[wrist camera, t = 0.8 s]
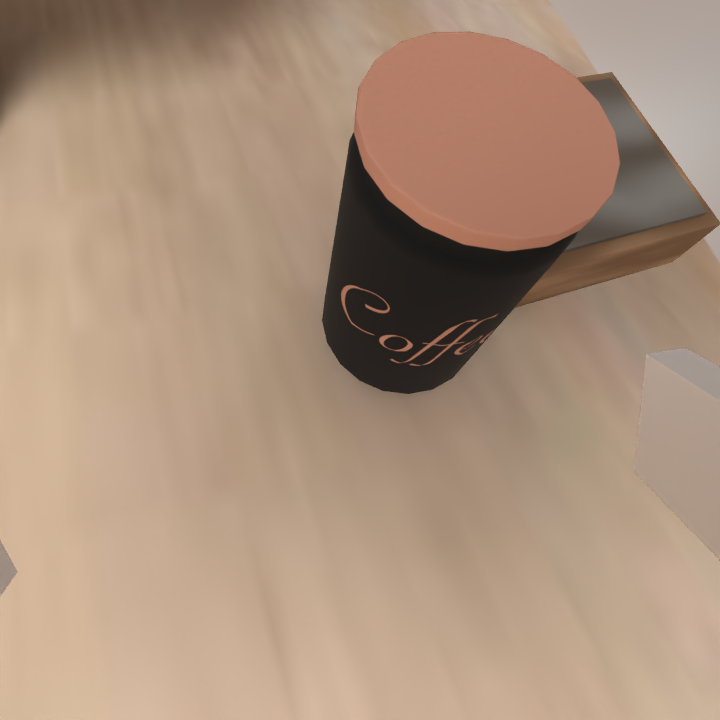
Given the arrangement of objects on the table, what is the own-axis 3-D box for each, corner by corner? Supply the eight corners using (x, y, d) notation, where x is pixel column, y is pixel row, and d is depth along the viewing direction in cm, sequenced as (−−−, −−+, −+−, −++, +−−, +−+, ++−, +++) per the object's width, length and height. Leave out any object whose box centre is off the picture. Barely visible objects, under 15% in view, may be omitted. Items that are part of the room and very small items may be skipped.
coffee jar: (302, 375, 34) (321, 187, 17) (342, 248, 38) (387, 0, 21) (455, 418, 34) (619, 274, 17) (477, 287, 38) (624, 73, 22)
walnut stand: (426, 149, 43) (445, 94, 38) (579, 120, 47) (614, 67, 42) (509, 308, 38) (543, 269, 33) (673, 261, 42) (725, 220, 37)
